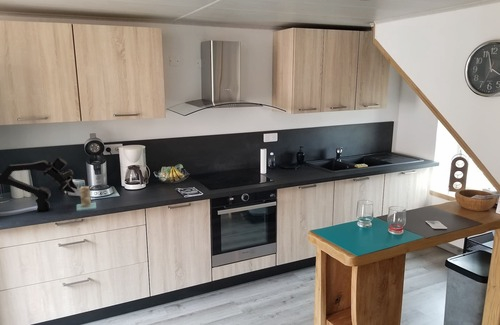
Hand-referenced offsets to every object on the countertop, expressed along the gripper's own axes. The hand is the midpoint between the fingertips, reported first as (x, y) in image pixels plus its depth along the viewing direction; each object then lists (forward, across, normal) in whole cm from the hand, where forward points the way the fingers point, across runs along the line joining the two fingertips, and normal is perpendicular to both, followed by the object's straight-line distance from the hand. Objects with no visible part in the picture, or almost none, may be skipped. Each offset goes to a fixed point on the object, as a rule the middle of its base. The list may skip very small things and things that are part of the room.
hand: (75, 190), depth 254 cm
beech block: (+12, 0, +4) cm, 13 cm away
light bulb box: (+5, +33, +13) cm, 35 cm away
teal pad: (+12, 0, +4) cm, 13 cm away
